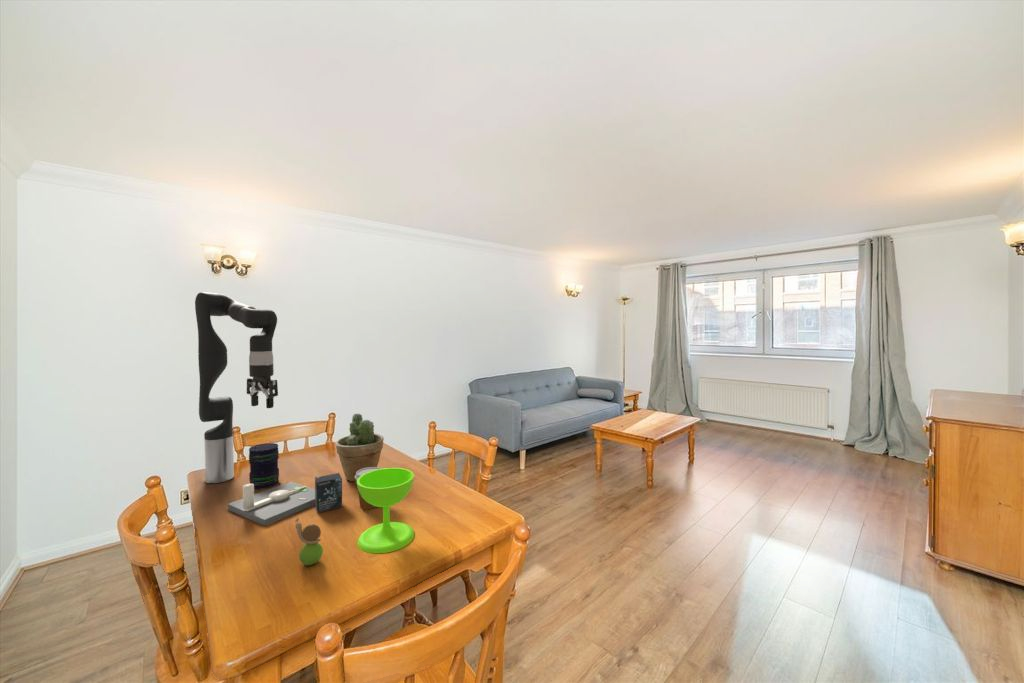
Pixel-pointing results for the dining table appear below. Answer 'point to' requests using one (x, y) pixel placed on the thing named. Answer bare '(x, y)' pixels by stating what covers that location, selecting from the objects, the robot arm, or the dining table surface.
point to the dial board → (276, 504)
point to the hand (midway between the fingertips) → (262, 406)
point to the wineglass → (385, 508)
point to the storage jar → (264, 465)
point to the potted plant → (359, 447)
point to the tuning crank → (274, 496)
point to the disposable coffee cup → (362, 502)
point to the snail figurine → (309, 543)
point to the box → (328, 492)
